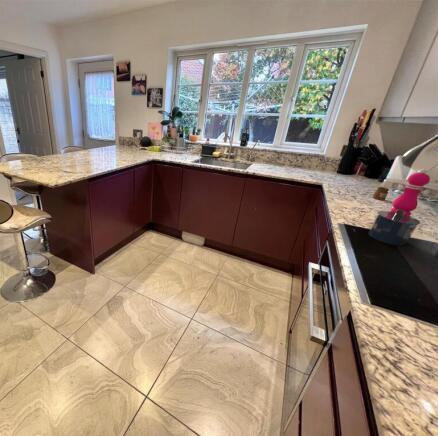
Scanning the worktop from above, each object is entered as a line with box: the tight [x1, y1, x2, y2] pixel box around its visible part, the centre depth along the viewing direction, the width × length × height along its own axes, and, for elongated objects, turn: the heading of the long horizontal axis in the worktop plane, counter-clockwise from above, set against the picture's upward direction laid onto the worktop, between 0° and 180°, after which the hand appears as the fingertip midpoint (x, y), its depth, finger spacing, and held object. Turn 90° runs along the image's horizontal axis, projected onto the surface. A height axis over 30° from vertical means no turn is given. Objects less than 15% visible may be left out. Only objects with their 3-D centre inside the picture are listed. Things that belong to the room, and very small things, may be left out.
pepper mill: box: [389, 169, 430, 217], centre depth 98 cm, size 7×7×20 cm
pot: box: [368, 214, 418, 247], centre depth 96 cm, size 12×12×10 cm
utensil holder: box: [372, 182, 390, 201], centre depth 145 cm, size 6×6×12 cm
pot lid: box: [376, 209, 421, 226], centre depth 93 cm, size 13×13×4 cm
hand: (412, 191), depth 97 cm, fingers closed on pepper mill, 5 cm apart
